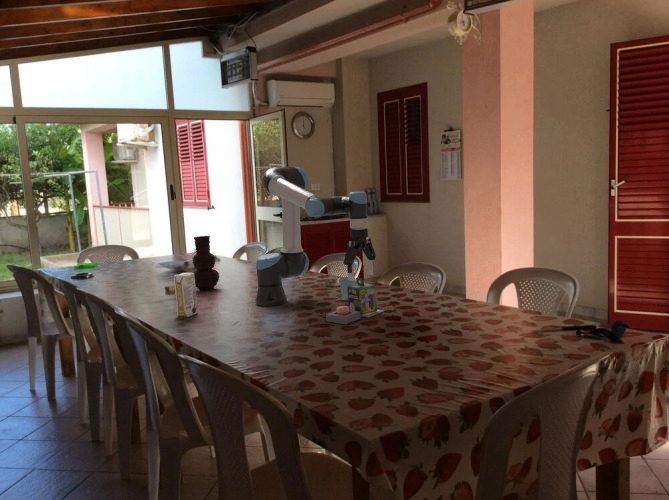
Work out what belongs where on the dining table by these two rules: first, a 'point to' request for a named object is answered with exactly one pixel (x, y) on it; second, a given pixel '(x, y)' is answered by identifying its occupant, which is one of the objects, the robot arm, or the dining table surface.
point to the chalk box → (362, 297)
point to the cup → (345, 286)
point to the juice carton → (185, 294)
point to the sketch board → (372, 313)
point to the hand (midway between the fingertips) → (360, 277)
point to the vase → (204, 265)
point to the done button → (342, 310)
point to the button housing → (343, 317)
